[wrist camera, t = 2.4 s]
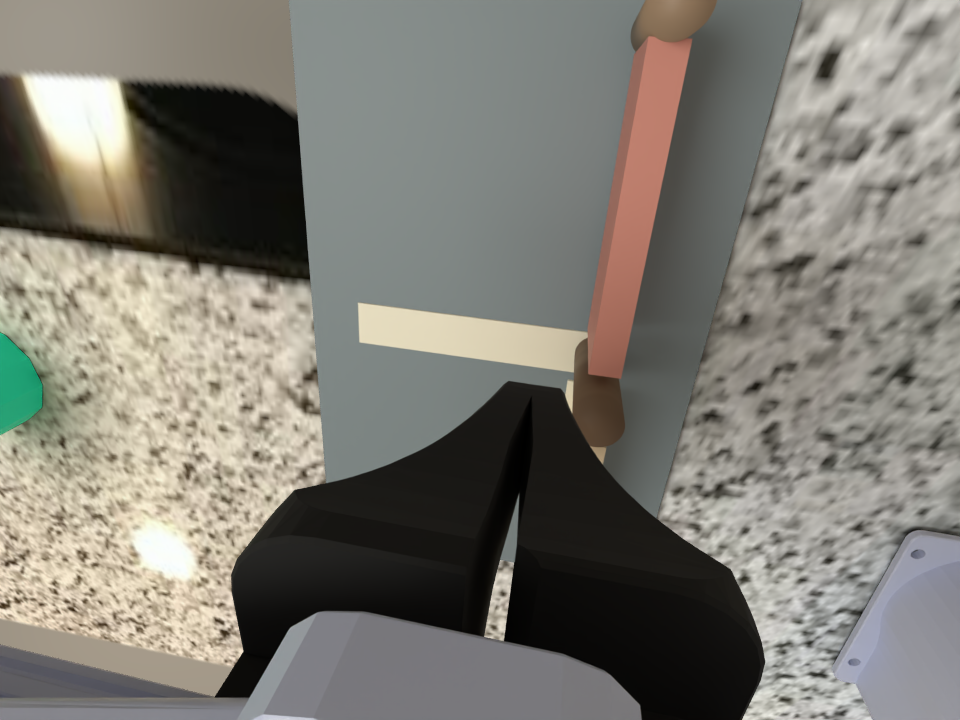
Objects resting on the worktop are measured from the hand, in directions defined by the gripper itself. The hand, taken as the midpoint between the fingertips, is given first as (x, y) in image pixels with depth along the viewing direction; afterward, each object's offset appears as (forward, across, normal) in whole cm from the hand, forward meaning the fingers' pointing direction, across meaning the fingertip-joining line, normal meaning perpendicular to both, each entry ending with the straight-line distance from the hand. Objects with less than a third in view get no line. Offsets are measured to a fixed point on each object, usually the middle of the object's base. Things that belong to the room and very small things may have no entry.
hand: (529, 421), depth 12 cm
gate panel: (+9, -2, -4) cm, 10 cm away
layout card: (+9, +2, +2) cm, 10 cm away
